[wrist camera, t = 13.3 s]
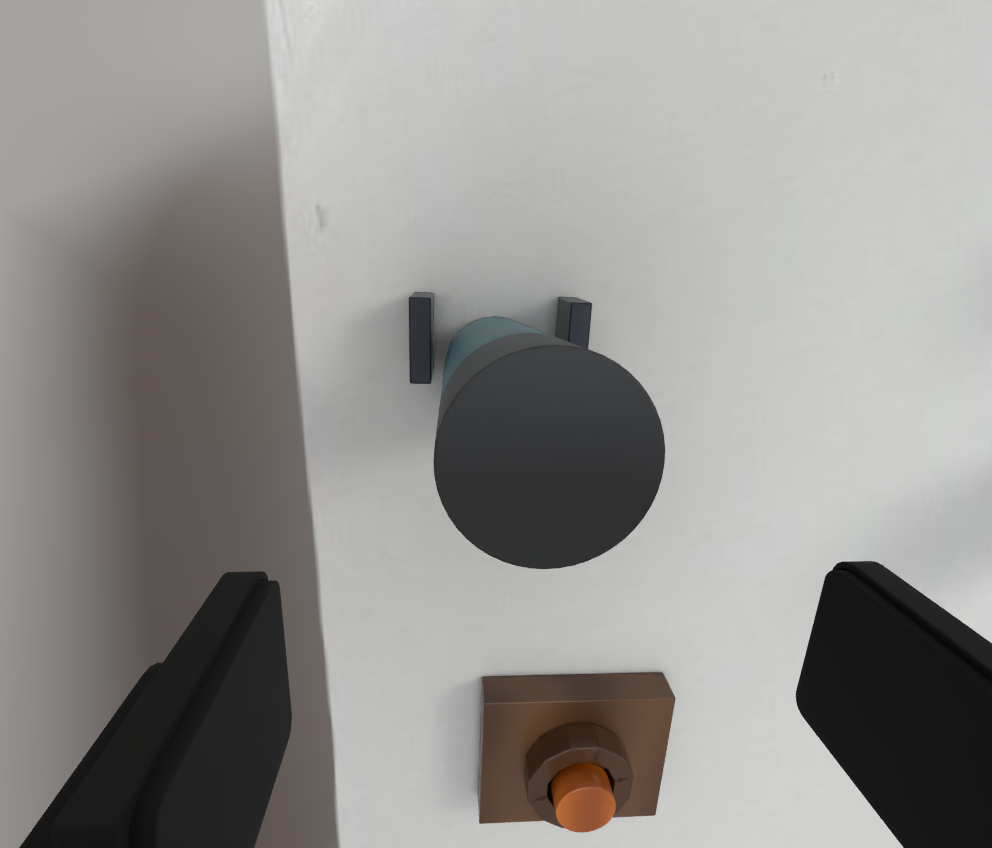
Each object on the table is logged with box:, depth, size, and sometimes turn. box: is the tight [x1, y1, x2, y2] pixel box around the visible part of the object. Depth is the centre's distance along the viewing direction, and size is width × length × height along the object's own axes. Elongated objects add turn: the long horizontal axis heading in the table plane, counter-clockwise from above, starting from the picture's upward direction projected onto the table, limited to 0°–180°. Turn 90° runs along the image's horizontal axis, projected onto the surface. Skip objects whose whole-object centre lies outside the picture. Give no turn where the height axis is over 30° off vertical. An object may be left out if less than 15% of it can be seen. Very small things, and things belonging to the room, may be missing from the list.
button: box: [551, 763, 616, 832], centre depth 33 cm, size 4×4×2 cm
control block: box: [478, 673, 675, 828], centre depth 35 cm, size 12×10×4 cm
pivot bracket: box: [409, 292, 592, 384], centre depth 27 cm, size 8×4×3 cm, turn 88°
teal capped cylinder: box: [434, 317, 665, 569], centre depth 20 cm, size 5×17×5 cm
